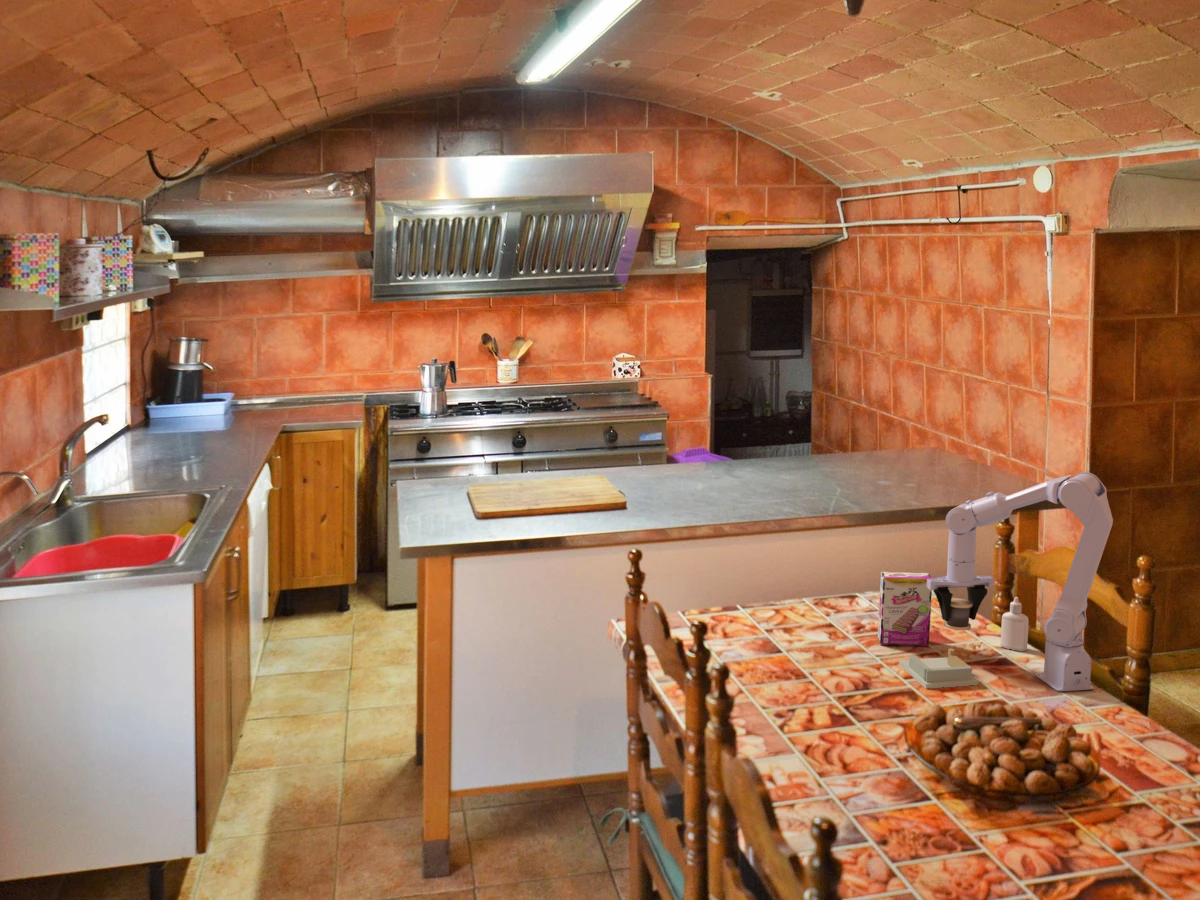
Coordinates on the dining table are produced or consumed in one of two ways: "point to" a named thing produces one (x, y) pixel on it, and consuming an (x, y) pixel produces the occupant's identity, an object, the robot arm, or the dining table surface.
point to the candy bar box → (904, 609)
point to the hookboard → (939, 671)
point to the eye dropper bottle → (1014, 628)
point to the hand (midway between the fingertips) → (958, 619)
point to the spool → (959, 614)
